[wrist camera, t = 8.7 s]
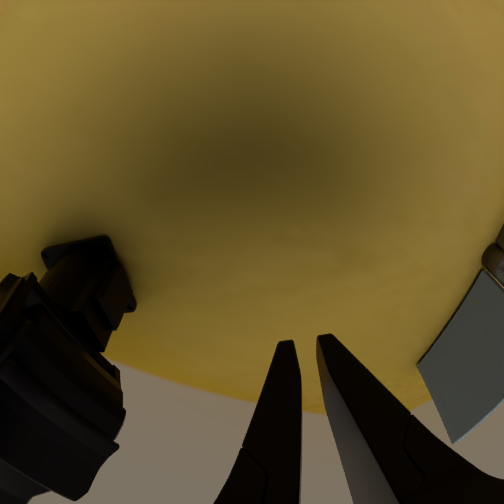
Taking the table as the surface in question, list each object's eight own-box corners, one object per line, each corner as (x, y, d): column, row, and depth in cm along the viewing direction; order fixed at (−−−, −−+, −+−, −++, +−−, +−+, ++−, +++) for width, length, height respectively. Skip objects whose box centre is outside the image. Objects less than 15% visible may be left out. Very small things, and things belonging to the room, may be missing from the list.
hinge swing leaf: (427, 365, 29) (462, 440, 19) (411, 366, 28) (447, 445, 19) (505, 247, 21) (573, 317, 12) (492, 241, 21) (566, 316, 11)
